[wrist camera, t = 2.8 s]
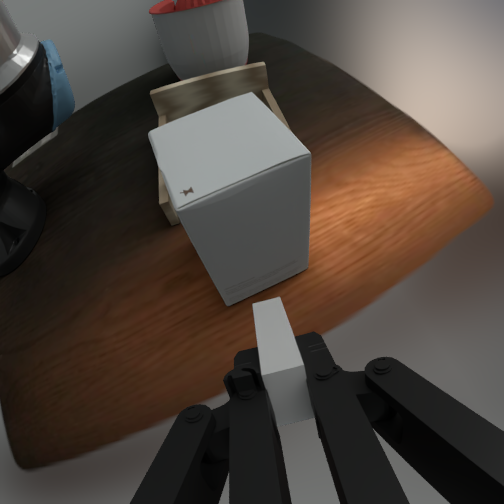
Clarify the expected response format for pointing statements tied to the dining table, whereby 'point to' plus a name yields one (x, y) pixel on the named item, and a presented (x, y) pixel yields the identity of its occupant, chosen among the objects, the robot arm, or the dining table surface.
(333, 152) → the dining table surface
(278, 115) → the pusher lane
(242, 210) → the supplement box
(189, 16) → the citrus juicer
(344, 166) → the dining table surface
